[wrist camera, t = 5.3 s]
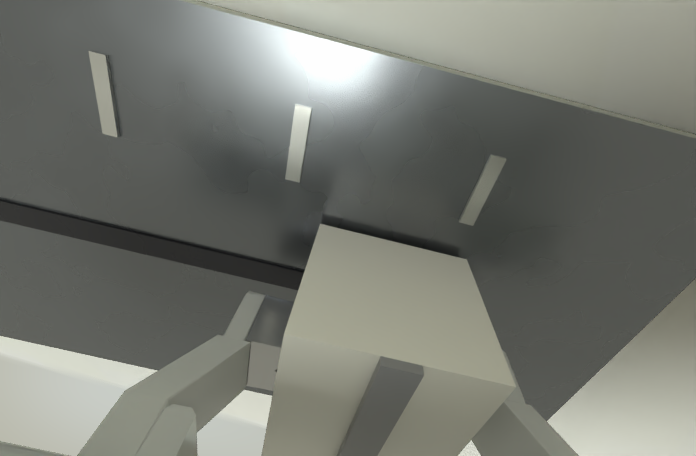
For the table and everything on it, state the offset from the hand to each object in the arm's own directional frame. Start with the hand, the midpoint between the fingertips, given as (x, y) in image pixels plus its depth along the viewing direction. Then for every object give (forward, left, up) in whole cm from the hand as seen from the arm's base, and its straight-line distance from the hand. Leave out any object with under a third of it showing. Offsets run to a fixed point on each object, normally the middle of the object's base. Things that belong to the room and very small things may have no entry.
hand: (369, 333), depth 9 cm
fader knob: (0, 0, -1) cm, 1 cm away
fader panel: (+5, 0, -5) cm, 7 cm away
